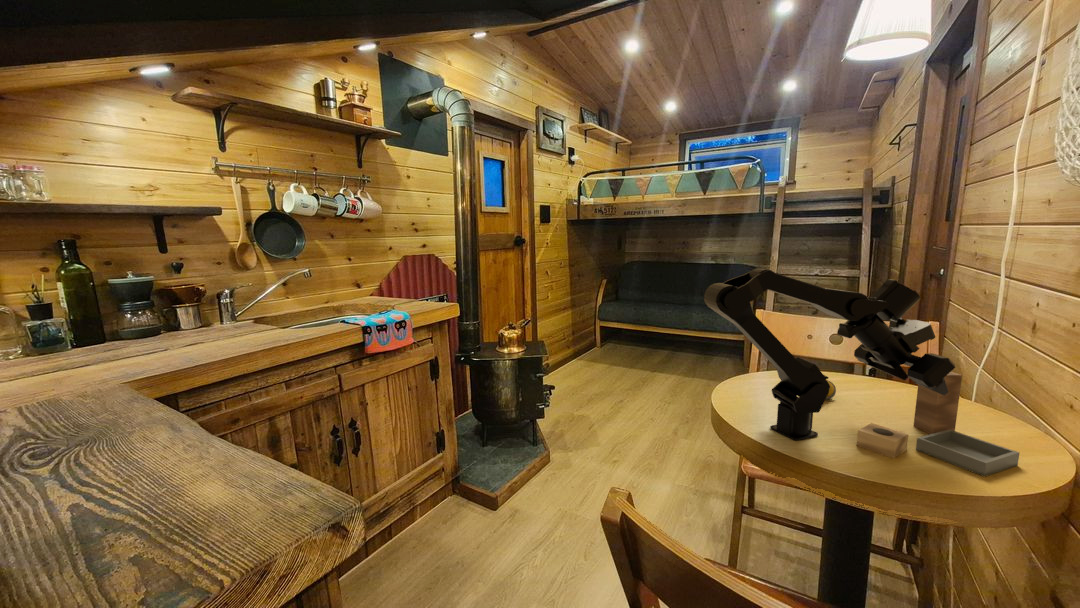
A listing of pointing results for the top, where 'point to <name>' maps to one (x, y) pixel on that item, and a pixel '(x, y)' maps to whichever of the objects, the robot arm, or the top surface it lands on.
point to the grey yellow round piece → (831, 391)
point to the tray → (968, 452)
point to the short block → (882, 440)
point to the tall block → (938, 406)
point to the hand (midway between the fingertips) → (924, 385)
